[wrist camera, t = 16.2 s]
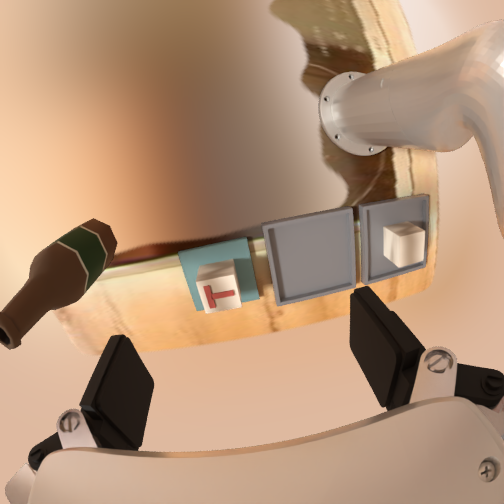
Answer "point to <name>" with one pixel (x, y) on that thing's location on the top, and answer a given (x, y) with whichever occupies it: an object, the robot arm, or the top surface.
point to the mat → (217, 253)
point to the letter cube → (219, 286)
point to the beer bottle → (58, 278)
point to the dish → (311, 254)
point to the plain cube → (404, 243)
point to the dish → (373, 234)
